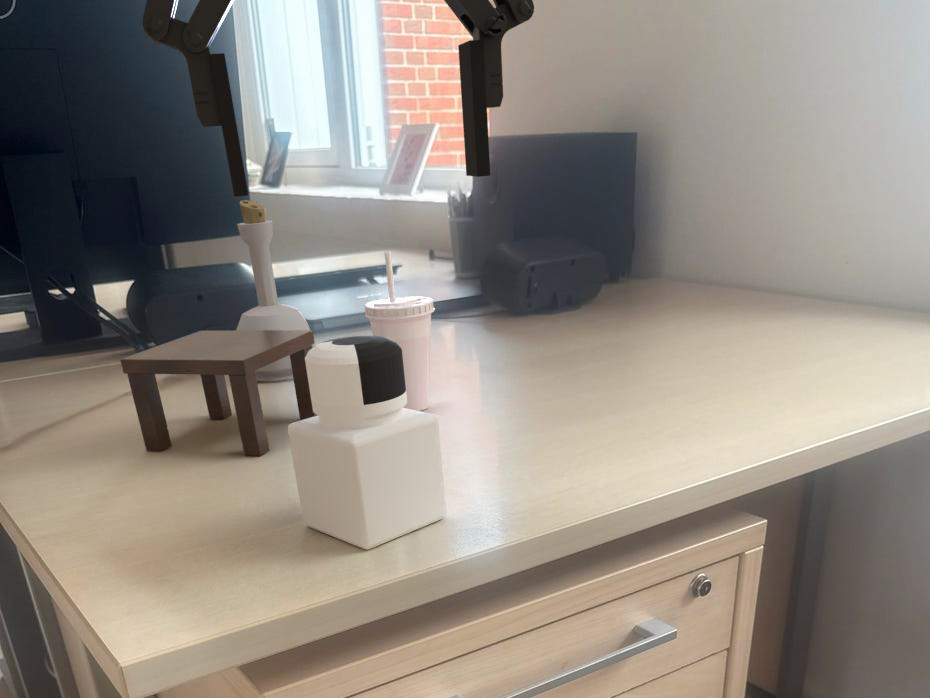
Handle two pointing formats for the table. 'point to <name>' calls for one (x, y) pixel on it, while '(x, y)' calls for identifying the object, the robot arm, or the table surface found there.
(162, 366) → the stand
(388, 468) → the medicine bottle
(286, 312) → the potion bottle
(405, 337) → the smoothie
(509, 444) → the table surface
